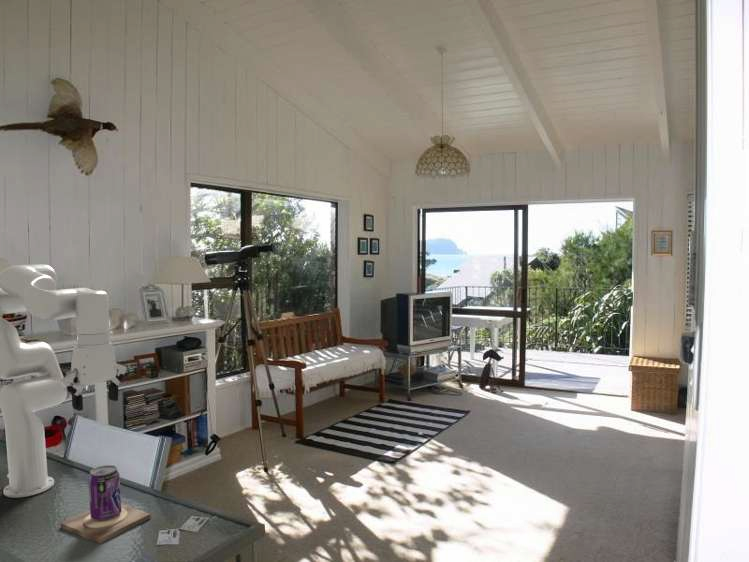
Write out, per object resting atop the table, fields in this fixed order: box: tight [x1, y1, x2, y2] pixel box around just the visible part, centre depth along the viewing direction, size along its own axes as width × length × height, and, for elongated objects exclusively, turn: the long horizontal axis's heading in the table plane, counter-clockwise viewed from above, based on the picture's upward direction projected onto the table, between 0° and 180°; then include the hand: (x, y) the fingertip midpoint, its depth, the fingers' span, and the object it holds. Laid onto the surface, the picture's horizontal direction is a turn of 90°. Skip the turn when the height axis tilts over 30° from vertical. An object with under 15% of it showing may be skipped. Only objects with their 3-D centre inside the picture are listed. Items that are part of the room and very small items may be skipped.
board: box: [60, 503, 152, 545], centre depth 147 cm, size 16×14×2 cm
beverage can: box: [87, 464, 122, 521], centre depth 147 cm, size 7×7×12 cm
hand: (96, 404), depth 150 cm, fingers open, 9 cm apart
